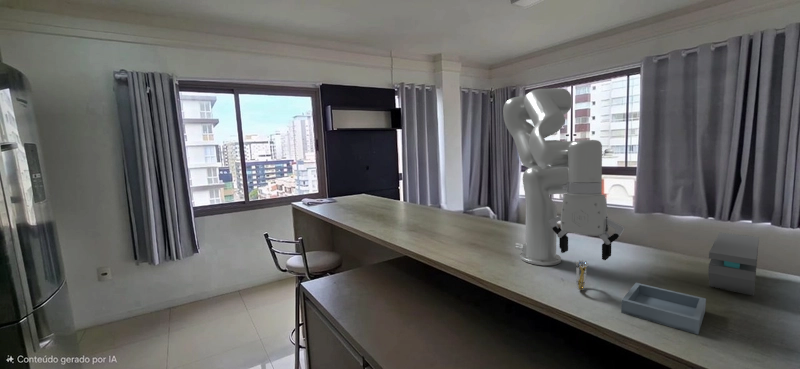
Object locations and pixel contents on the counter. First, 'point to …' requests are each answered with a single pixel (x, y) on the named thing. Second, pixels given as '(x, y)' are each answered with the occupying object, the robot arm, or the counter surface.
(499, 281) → the counter surface
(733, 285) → the gray slotted box
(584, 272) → the bracelet
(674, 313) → the tray
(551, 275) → the counter surface
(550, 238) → the robot arm
